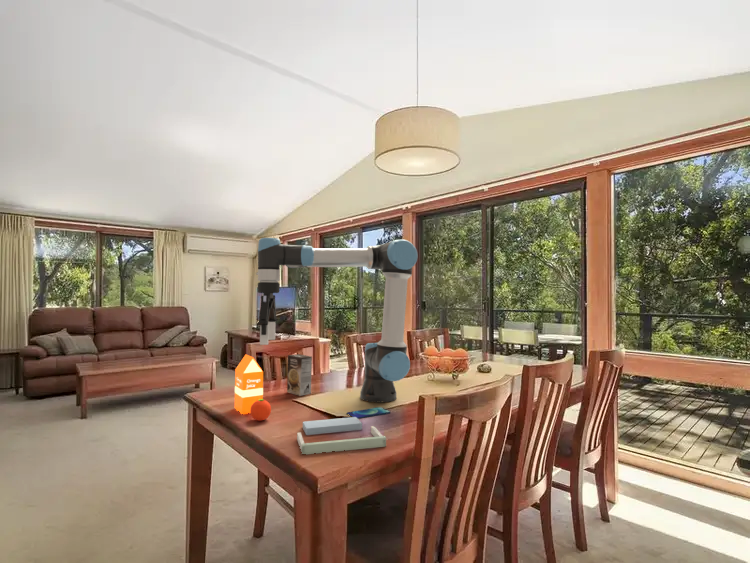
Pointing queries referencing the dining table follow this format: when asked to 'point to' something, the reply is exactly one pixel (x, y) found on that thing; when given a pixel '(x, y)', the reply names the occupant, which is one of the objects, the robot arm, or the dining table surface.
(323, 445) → the docking bay
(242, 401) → the orange juice
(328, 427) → the blue-grey rectangular slab
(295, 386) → the coffee box
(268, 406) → the clementine
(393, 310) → the robot arm
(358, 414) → the smartphone
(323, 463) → the dining table surface
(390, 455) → the dining table surface
